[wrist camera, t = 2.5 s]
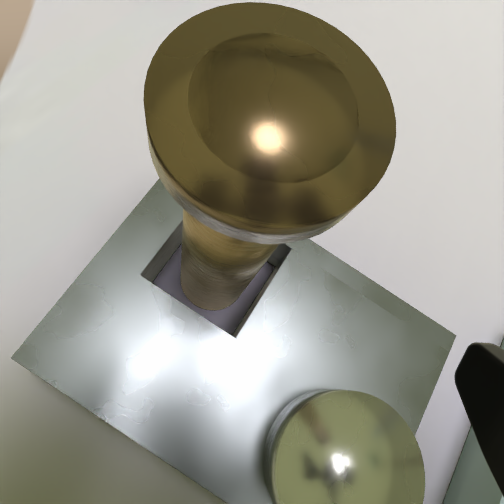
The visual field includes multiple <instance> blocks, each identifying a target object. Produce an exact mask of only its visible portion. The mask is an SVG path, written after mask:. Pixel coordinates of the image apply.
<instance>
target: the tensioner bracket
mask: <svg viewBox="0 0 504 504" xmlns="http://www.w3.org/2000/svg"><path fill="white" fill-rule="evenodd" d="M182 230H183V208H182V207H181V206H180V205H179V204H178V203H177V202H176V201H175V200H174V198H173V197H172V196H171V194H170V193H169V192H168V191H167V189H166V188H165V186H164V184H163V183H162V181H161V179H160V178H159V180H158V181H157V182H156V183H155V185H154V186H153V187H152V188H151V189H150V191H149V192H148V193H147V194H146V195H145V197H144V198H143V199H142V200H141V201H140V203H139V204H138V205H137V206H136V207H135V209H134V210H133V211H132V212H131V214H130V215H129V216H128V217H127V218H126V220H125V221H124V222H123V223H122V224H121V226H120V227H119V228H118V229H117V230H116V232H115V233H114V234H113V235H112V236H111V238H110V239H109V240H108V241H107V242H106V244H105V245H104V246H103V247H102V249H101V250H100V251H99V252H98V253H97V255H96V256H95V257H94V258H93V259H92V261H91V262H90V263H89V264H88V265H87V267H86V268H85V269H84V270H83V271H82V273H81V274H80V275H79V276H78V277H77V279H76V280H75V281H74V282H73V284H72V285H71V286H70V287H69V288H68V290H67V291H66V292H65V293H64V294H63V296H62V297H61V298H60V299H59V300H58V302H57V303H56V304H55V305H54V306H53V308H52V309H51V310H50V311H49V313H48V314H47V315H46V316H45V317H44V319H43V320H42V321H41V322H40V323H39V325H38V326H37V327H36V328H35V329H34V331H33V332H32V333H31V334H30V335H29V337H28V338H27V339H26V340H25V341H24V343H23V344H22V345H21V346H20V348H19V349H18V350H17V351H16V352H15V354H14V355H13V356H12V357H11V358H12V359H13V360H14V361H16V362H17V363H19V364H20V365H22V366H23V367H25V368H26V369H28V370H29V371H31V372H32V373H34V374H35V375H37V376H38V377H40V378H41V379H43V380H44V381H46V382H47V383H49V384H50V385H52V386H53V387H55V388H56V389H58V390H59V391H61V392H62V393H64V394H65V395H67V396H68V397H70V398H71V399H73V400H74V401H76V402H77V403H79V404H80V405H82V406H83V407H85V408H86V409H87V410H89V411H90V412H92V413H93V414H95V415H96V416H98V417H99V418H101V419H102V420H104V421H105V422H107V423H108V424H110V425H111V426H113V427H114V428H116V429H117V430H119V431H120V432H122V433H123V434H125V435H126V436H128V437H129V438H131V439H132V440H134V441H135V442H137V443H138V444H140V445H141V446H143V447H144V448H146V449H147V450H149V451H150V452H152V453H153V454H155V455H156V456H158V457H159V458H160V459H162V460H163V461H165V462H166V463H168V464H169V465H171V466H172V467H174V468H175V469H177V470H178V471H180V472H181V473H183V474H184V475H186V476H187V477H189V478H190V479H192V480H193V481H195V482H196V483H198V484H199V485H201V486H202V487H204V488H205V489H207V490H208V491H210V492H211V493H213V494H214V495H216V496H217V497H219V498H220V499H222V500H223V501H225V502H226V503H228V504H423V499H424V491H425V471H424V464H423V459H422V455H421V451H420V448H419V446H418V443H417V441H416V438H415V434H416V431H417V429H418V426H419V424H420V422H421V419H422V417H423V414H424V412H425V410H426V407H427V405H428V402H429V400H430V398H431V395H432V393H433V390H434V388H435V385H436V383H437V381H438V378H439V376H440V373H441V371H442V369H443V366H444V364H445V361H446V359H447V357H448V354H449V352H450V349H451V347H452V345H453V342H454V340H455V337H456V335H455V334H453V333H452V332H450V331H449V330H447V329H446V328H444V327H443V326H441V325H439V324H438V323H436V322H435V321H433V320H432V319H430V318H429V317H427V316H426V315H424V314H423V313H421V312H420V311H418V310H417V309H415V308H414V307H412V306H410V305H409V304H407V303H406V302H404V301H403V300H401V299H400V298H398V297H397V296H395V295H394V294H392V293H391V292H389V291H388V290H386V289H385V288H383V287H382V286H380V285H378V284H377V283H375V282H374V281H372V280H371V279H369V278H368V277H366V276H365V275H363V274H362V273H360V272H359V271H357V270H356V269H354V268H353V267H351V266H350V265H348V264H346V263H345V262H343V261H342V260H340V259H339V258H337V257H336V256H334V255H333V254H331V253H330V252H328V251H327V250H325V249H324V248H322V247H321V246H319V245H317V244H316V243H314V242H313V241H311V240H310V239H305V240H301V241H297V242H293V243H283V244H279V245H278V247H277V248H276V249H275V251H274V252H273V253H272V254H271V256H270V257H269V258H268V260H267V262H269V263H271V264H272V265H274V266H275V269H274V270H273V272H272V274H271V275H270V277H269V278H268V280H267V282H266V283H265V285H264V286H263V288H262V289H261V291H260V293H259V294H258V296H257V297H256V299H255V301H254V302H253V304H252V305H251V307H250V308H249V310H248V312H247V313H246V315H245V316H244V318H243V320H242V321H241V323H240V324H239V326H238V327H237V329H236V331H235V332H234V334H233V335H232V336H231V335H230V334H228V333H226V332H225V331H223V330H222V329H220V328H219V327H217V326H216V325H214V324H213V323H211V322H210V321H208V320H207V319H205V318H204V317H202V316H201V315H199V314H198V313H196V312H195V311H193V310H192V309H190V308H189V307H187V306H186V305H184V304H183V303H181V302H180V301H178V300H177V299H175V298H174V297H172V296H171V295H169V294H168V293H166V292H165V291H163V290H162V289H160V288H159V287H157V286H156V285H154V284H153V283H152V281H153V280H154V279H155V277H156V276H157V275H158V273H159V272H160V271H161V269H162V268H163V267H164V265H165V264H166V263H167V261H168V260H169V259H170V257H171V256H172V255H173V253H174V252H175V251H176V249H177V248H178V247H179V245H180V244H181V243H182Z"/></svg>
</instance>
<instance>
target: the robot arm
mask: <svg viewBox="0 0 504 504" xmlns="http://www.w3.org/2000/svg"><path fill="white" fill-rule="evenodd" d="M455 384H456V387H457V389H458V392H459V395H460V397H461V400H462V402H463V405H464V407H465V410H466V413H467V415H468V418H469V420H470V423H471V426H472V428H473V431H474V433H475V436H476V439H477V441H478V444H479V446H480V449H481V451H482V453H483V456H484V458H485V460H486V462H487V464H488V467H489V469H490V471H491V473H492V475H493V477H494V479H495V481H496V483H497V485H498V487H499V489H500V491H501V493H502V495H503V497H504V349H502V348H500V347H498V346H497V345H494V344H491V343H477V342H476V343H472V344H471V345H469V346H468V348H467V350H466V352H465V354H464V356H463V358H462V359H461V361H460V363H459V365H458V367H457V369H456V372H455Z"/></svg>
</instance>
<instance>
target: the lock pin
mask: <svg viewBox="0 0 504 504" xmlns="http://www.w3.org/2000/svg"><path fill="white" fill-rule="evenodd" d="M144 108H145V117H146V126H147V134H148V142H149V150H150V153H151V157H152V161H153V164H154V166H155V169H156V171H157V174H158V176H159V178H160V179H161V181H162V183H163V184H164V186H165V188H166V189H167V191H168V192H169V193H170V194H171V196H172V197H173V198H174V200H175V201H176V202H177V203H178V204H179V205H180V206H181V207H182V208H183V230H182V255H181V286H182V289H183V292H184V294H185V295H186V297H187V298H188V299H189V300H190V301H191V302H192V303H193V304H194V305H196V306H198V307H200V308H202V309H206V310H220V309H224V308H226V307H228V306H230V305H231V304H233V303H234V302H235V301H236V300H237V299H238V298H239V296H240V295H241V294H242V292H243V291H244V290H245V288H246V287H247V286H248V285H249V283H250V282H251V281H252V279H253V278H254V277H255V275H256V274H257V273H258V271H259V270H260V269H261V268H262V266H263V265H264V264H265V262H266V261H267V260H268V258H269V257H270V256H271V254H272V253H273V252H274V251H275V249H276V248H277V247H278V245H279V244H283V243H293V242H297V241H301V240H305V239H308V238H311V237H313V236H316V235H319V234H321V233H323V232H324V231H326V230H328V229H330V228H331V227H333V226H334V225H336V224H337V223H338V222H339V221H341V220H342V219H343V218H344V217H345V216H346V215H347V214H349V213H350V212H351V211H352V210H353V209H354V208H355V207H356V206H357V205H358V204H359V203H360V202H361V201H362V200H363V199H364V198H365V197H366V196H367V195H368V194H369V193H370V192H371V191H372V190H373V189H374V188H375V187H376V186H377V184H378V183H379V181H380V180H381V178H382V177H383V175H384V174H385V172H386V170H387V167H388V165H389V163H390V161H391V157H392V154H393V151H394V146H395V138H396V119H395V113H394V107H393V103H392V100H391V96H390V93H389V91H388V89H387V86H386V84H385V82H384V80H383V78H382V76H381V75H380V73H379V71H378V69H377V68H376V67H375V65H374V64H373V62H372V61H371V60H370V58H369V57H368V56H367V55H366V54H365V53H364V52H363V51H362V49H361V48H360V47H359V46H358V45H357V44H356V43H354V42H353V41H352V40H351V39H350V38H349V37H348V36H346V35H345V34H344V33H342V32H341V31H339V30H338V29H337V28H335V27H334V26H332V25H330V24H328V23H327V22H325V21H323V20H321V19H319V18H317V17H315V16H313V15H310V14H308V13H306V12H303V11H300V10H297V9H294V8H290V7H286V6H282V5H276V4H269V3H253V2H247V3H234V4H229V5H224V6H219V7H216V8H213V9H210V10H206V11H204V12H202V13H200V14H198V15H195V16H193V17H191V18H190V19H188V20H187V21H185V22H184V23H182V24H181V25H179V26H178V27H177V28H176V29H175V30H174V31H173V32H171V33H170V34H169V35H168V37H167V38H166V39H165V40H164V41H163V42H162V44H161V45H160V46H159V48H158V50H157V51H156V53H155V55H154V56H153V58H152V61H151V64H150V66H149V69H148V71H147V76H146V80H145V85H144Z"/></svg>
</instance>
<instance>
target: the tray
mask: <svg viewBox="0 0 504 504" xmlns="http://www.w3.org/2000/svg"><path fill="white" fill-rule="evenodd" d="M500 348H502V349H504V339H503V342H502V345H501V347H500ZM443 504H504V497H503V495H502V493H501V491H500V489H499V487H498V485H497V483H496V481H495V479H494V477H493V475H492V473H491V471H490V469H489V467H488V464H487V462H486V460H485V458H484V456H483V453H482V451H481V449H480V446H479V444H478V441H477V439H476V436H475V433H474V431H473V428H472V426H471V429H470V431H469V434H468V437H467V439H466V442H465V445H464V448H463V450H462V453H461V456H460V458H459V461H458V464H457V467H456V469H455V472H454V475H453V477H452V480H451V483H450V486H449V488H448V491H447V494H446V496H445V499H444V502H443Z"/></svg>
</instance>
